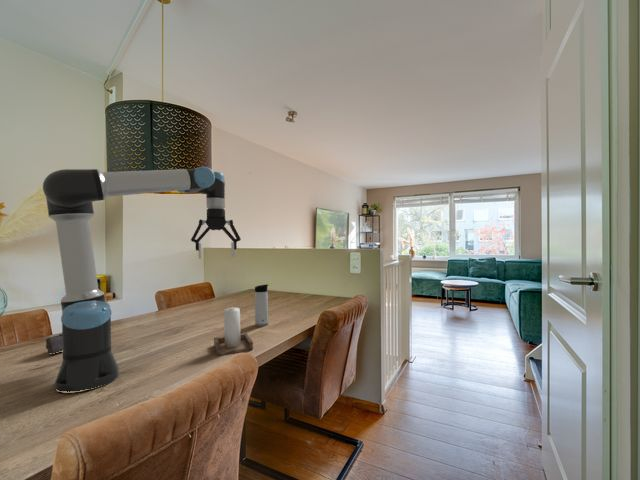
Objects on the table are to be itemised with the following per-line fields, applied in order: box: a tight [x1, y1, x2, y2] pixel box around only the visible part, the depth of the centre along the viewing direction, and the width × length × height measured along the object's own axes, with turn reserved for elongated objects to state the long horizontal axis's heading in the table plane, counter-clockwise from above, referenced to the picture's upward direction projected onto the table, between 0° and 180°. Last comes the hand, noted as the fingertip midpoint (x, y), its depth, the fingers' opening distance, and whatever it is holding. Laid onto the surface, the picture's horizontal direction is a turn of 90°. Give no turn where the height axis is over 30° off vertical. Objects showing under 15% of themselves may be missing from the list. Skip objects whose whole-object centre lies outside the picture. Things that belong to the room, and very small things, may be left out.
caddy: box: [213, 333, 254, 357], centre depth 117 cm, size 13×12×3 cm
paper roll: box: [223, 307, 241, 348], centre depth 117 cm, size 6×6×14 cm
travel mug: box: [254, 284, 269, 327], centre depth 148 cm, size 6×7×20 cm
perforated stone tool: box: [45, 333, 63, 354], centre depth 118 cm, size 15×5×7 cm, turn 173°
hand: (216, 257), depth 129 cm, fingers open, 13 cm apart
